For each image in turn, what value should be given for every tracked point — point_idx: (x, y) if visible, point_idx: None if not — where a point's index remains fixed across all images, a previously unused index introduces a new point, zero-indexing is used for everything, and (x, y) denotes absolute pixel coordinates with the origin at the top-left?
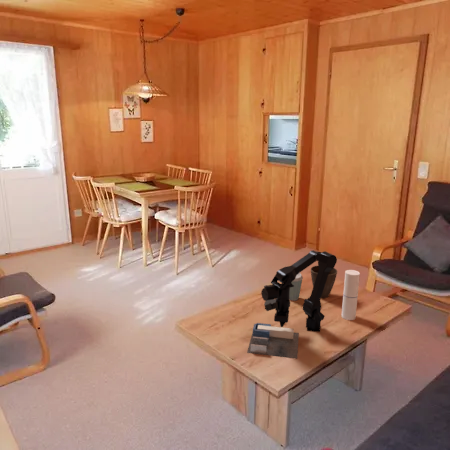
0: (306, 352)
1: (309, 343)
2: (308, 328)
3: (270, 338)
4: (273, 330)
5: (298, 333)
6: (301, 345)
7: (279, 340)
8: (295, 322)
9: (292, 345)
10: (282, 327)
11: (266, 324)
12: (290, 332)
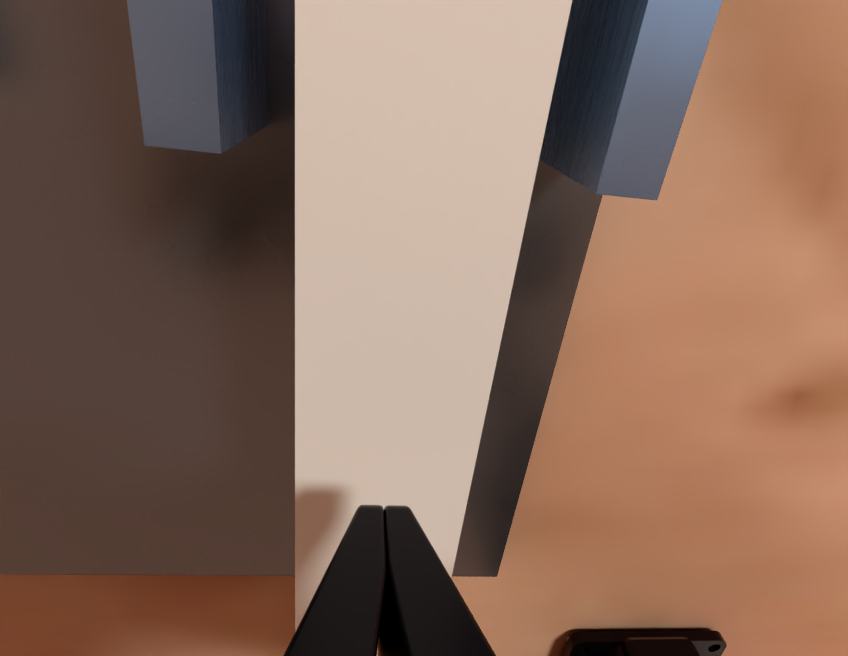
0: (41, 632)
1: (275, 651)
2: (605, 653)
3: (231, 150)
4: (295, 271)
5: (480, 573)
6: (198, 588)
7: (205, 333)
8: (804, 524)
9: (109, 516)
10: (472, 473)
11: (657, 37)
12: (295, 592)
